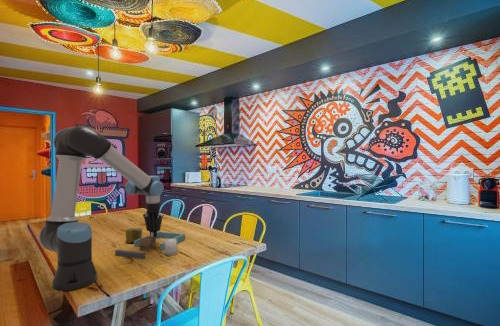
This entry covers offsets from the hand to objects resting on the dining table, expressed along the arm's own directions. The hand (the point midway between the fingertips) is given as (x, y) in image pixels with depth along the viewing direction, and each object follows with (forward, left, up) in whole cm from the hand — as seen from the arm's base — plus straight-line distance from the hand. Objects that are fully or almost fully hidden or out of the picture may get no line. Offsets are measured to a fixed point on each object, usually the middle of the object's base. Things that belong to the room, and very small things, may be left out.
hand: (153, 243), depth 155 cm
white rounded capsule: (-7, -17, -2) cm, 18 cm away
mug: (+5, +18, -2) cm, 19 cm away
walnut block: (-4, 0, -2) cm, 5 cm away
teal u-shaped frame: (+6, 0, -2) cm, 6 cm away
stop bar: (-18, 0, -2) cm, 18 cm away
